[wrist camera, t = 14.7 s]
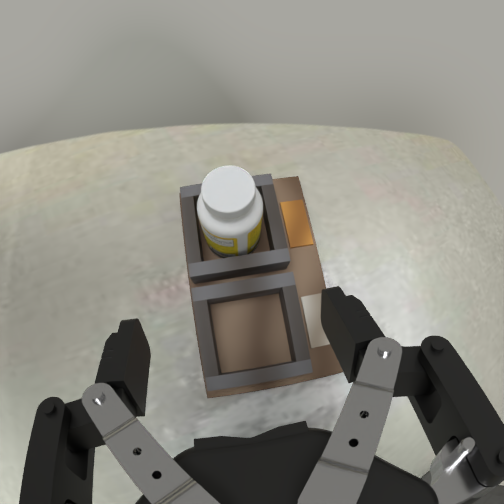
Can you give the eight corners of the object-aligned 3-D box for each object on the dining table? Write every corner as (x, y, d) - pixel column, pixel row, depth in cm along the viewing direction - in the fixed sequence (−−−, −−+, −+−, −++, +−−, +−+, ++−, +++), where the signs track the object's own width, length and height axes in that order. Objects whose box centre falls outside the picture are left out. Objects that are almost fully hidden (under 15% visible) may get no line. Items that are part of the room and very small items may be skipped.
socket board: (208, 396, 29) (203, 403, 25) (181, 198, 35) (174, 179, 31) (339, 371, 30) (353, 373, 26) (296, 181, 36) (302, 161, 32)
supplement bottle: (248, 204, 33) (251, 149, 24) (267, 251, 32) (277, 208, 23) (198, 220, 33) (183, 169, 23) (215, 269, 31) (203, 232, 22)
